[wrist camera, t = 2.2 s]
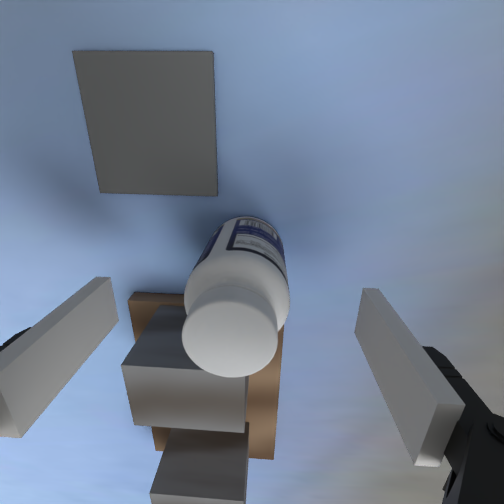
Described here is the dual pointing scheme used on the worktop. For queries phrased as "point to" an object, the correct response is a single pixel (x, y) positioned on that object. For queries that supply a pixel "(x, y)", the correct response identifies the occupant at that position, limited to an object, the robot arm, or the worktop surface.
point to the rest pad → (150, 120)
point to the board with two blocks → (196, 409)
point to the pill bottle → (236, 299)
